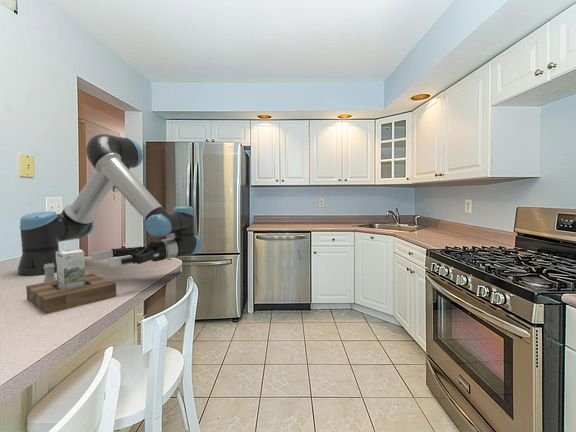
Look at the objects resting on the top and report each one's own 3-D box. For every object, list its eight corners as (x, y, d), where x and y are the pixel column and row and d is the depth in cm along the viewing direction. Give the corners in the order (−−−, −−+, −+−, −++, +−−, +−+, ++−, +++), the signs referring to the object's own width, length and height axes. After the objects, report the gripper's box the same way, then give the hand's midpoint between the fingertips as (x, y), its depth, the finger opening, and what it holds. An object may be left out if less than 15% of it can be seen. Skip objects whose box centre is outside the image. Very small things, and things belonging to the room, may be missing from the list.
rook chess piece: (44, 286, 109) (42, 263, 108) (60, 284, 111) (58, 262, 110) (40, 290, 105) (38, 266, 104) (56, 288, 107) (55, 264, 106)
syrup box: (79, 293, 102) (76, 247, 101) (86, 297, 98) (84, 250, 97) (57, 298, 97) (54, 250, 96) (65, 302, 94) (62, 253, 92)
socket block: (27, 299, 96) (26, 286, 96) (92, 284, 110) (92, 273, 110) (45, 313, 85) (44, 298, 85) (116, 295, 99) (115, 283, 99)
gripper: (181, 264, 112) (118, 278, 96) (145, 255, 128) (86, 265, 112) (180, 243, 112) (116, 253, 95) (144, 236, 127) (84, 244, 111)
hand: (100, 260), depth 103 cm, fingers open, 13 cm apart
